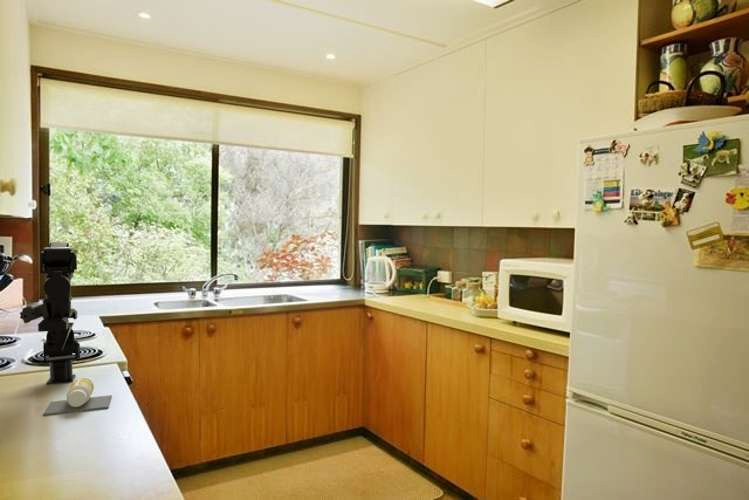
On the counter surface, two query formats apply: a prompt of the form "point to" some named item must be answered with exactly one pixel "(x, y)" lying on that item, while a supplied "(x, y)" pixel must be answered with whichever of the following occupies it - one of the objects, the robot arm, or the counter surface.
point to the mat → (65, 407)
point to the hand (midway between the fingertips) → (59, 351)
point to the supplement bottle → (80, 392)
